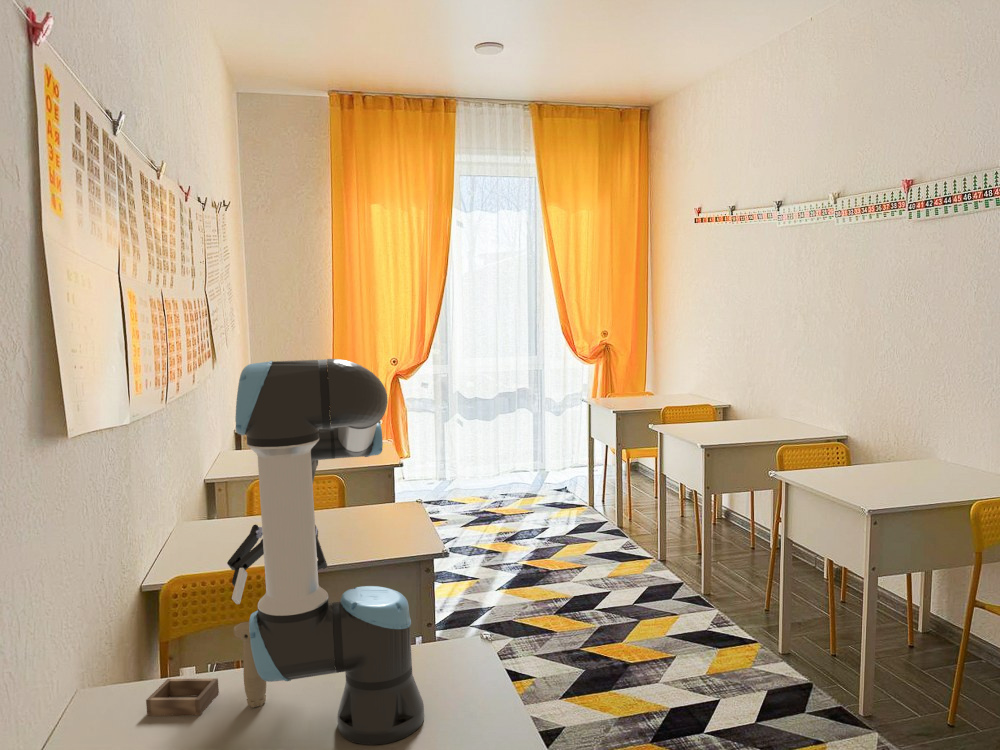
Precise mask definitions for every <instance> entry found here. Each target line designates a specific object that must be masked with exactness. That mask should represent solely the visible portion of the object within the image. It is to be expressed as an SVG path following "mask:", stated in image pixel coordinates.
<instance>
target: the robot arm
mask: <svg viewBox="0 0 1000 750" xmlns="http://www.w3.org/2000/svg"><path fill="white" fill-rule="evenodd" d="M235 405H236V406H235V417H234V418H235V432H236V433H237V435H240V436H245V435H246V446H247V448H249V449H250V450H251V451H253V452H254V453H255V454H256V456H257V468H258V484H259V485H258V486H259V499H260V500H259V501H260V514H261V515H260V516H261V526H258V524H253V525H252V527H251V530H250V532H249V534H248V535H247V537H246V538H245V539H244V540H243V541H242V543H241V544H240V545H239V546H238V547H237V549H236V550H235V551H234V553H233V554H232V555H231V557H230V558H229V559H228V561H227V566H228V567H229V568H230V569H231V571H234V572H233V576H232V580H231V584H232V586H233V588H234V589H233V592H232V596H231V599H232V601H233V602H234V603H235V604H236V605H240V604H241V600H242V598H243V592H244V589H245V586H246V581H247V577H248V572H247V571H246V570H247V569H249V568H250V567H251V566H252V565H254V563H256V562H257V560H259V559H260V558H261V557H262V556H263V560H264V561H263V562H264V575H265V576H264V577H265V578H264V579H265V580H264V581H265V594H264V595H263V596H262V597H261V598H260V599H259V601H258V602H257V610H256V611H254V612H252V613H251V614H250V617H249V621H248V622H249V631H250V638H251V640H250V642H251V649H252V655H253V659H254V663H255V667H256V670H257V672H258V674H259V676H260V677H261V678H262V679H263V680H264V681H266V683H267V682H268V683H271V682H281V681H282V682H283V681H284V682H290V681H292V680H298V679H299V680H300V679H305V678H312V677H319V676H326V675H331V674H338V673H345V685H344V688H343V689H344V690H343V692H342V697H341V700H340V704H339V707H338V710H337V729H338V732H339V733H340V735H341V736H342V737H343V738H344V739H346V740H347V741H349V742H352V743H356V744H360V745H371V746H372V745H384V744H390V743H393V742H396V741H400V740H402V739H405V738H407V737H409V736H410V735H412V734H413V733H414V732H416V731H417V730H418V729H420V727H421V726H422V725H423V722H424V719H425V705H424V700H423V697H422V695H421V692H420V689H419V688H418V685H417V682H416V680H415V677H414V675H413V660H412V659H413V658H412V641H411V625H412V620H411V619H412V618H411V616H410V609H409V607H410V605H409V602H408V600H407V598H406V597H405V596H404V595H403V594H402V593H401V592H399V591H397V590H395V589H393V588H389V587H384V586H378V585H366V586H365V585H361V586H357V587H354V588H349V589H347V590H346V591H344V592H343V593H342V595H341V597H340V598H339V599H340V601H333V602H329V594H328V592H327V590H325V589H324V588H322V587H321V586H320V585H319V574H318V573H319V570H322V569H323V570H325V569H327V568H328V563H327V560H326V558H325V555H324V552H323V549H322V546H321V544H320V541H319V529H318V527H317V526H316V519H315V504H314V503H315V502H314V501H315V500H314V480H315V476H316V472H317V467H318V465H319V461H321V460H322V461H325V460H334V459H335V460H336V459H346V458H347V459H348V458H349V459H350V458H359V457H360V458H361V457H364V458H369V457H372V456H379V455H380V454H381V453H382V452H383V444H384V442H383V428H382V425H381V423H380V421H381V420H383V417H384V416H385V414H386V411H387V407H388V393H387V390H386V388H385V386H384V383H382V381H381V380H380V378H379V377H378V376H377V375H375V373H374V372H372V371H370V370H369V369H368V368H366V367H364V366H362V365H361V364H358V363H355V362H353V361H349V360H346V359H340V358H326V359H301V360H280V361H279V360H277V361H275V360H269V361H263V362H255V363H249V364H247V365H246V366H244V368H243V369H242V370H241V373H240V376H239V379H238V386H237V395H236V402H235ZM259 540H260V542H259V543H258V541H259ZM257 543H258V544H257ZM256 544H257V545H256ZM255 545H256V546H255Z"/></svg>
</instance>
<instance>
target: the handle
mask: <svg viewBox="0 0 1000 750" xmlns="http://www.w3.org/2000/svg"><path fill="white" fill-rule="evenodd" d="M233 635H234V637H236V638H237V639H241V641H242V647H243V650H242V651H243V686H244V693H245V697H246V704H247V706H248V705H249V707H251V708H252V707H253V708H254V707H255V708H257V707H262V706H263V705H264V703H265V702H266V700H267V699H266V698H267V695H266V692H267V681H264V680H263V679H262V678H261V677H260V676H259V674H258V672H257V670H256V667H255V663H254V659H253V655H252V649H251V642H250V640H251V638H250V631H249V621H244V622H240V623H238V624H236V625H234V627H233Z"/></svg>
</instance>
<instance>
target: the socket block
mask: <svg viewBox="0 0 1000 750" xmlns="http://www.w3.org/2000/svg"><path fill="white" fill-rule="evenodd" d="M219 689H220V688H219V678H217V677H216V678H167V679H166V680H164V682H162V683H161V685H160V686H159V687H157V688H156V690H154V692H153V693H151V695H150V696H148V698H147V699H145V703H146V713H147V714H146V715H147V716H148V717H152V716H155V717H158V716H159V717H162V716H167V717H168V716H171V717H172V716H176V717H177V716H180V717H181V716H182V715H184V716H201V715H202V714H203V713H204V712H205V711H206V709H207V708H208V707H209V706H210V705H211V703H212V702H213V701H214V700H215V699H216V698H217V696H218V695H219V694H220V691H219ZM218 693H219V694H218ZM191 695H199V696H194V697H191ZM181 696H183V697H181ZM214 698H215V699H214ZM213 699H214V700H213ZM212 700H213V701H212ZM209 704H210V705H209ZM208 705H209V706H208ZM207 706H208V707H207ZM204 710H205V711H204ZM203 711H204V712H203ZM202 712H203V713H202ZM200 714H201V715H200Z"/></svg>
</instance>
